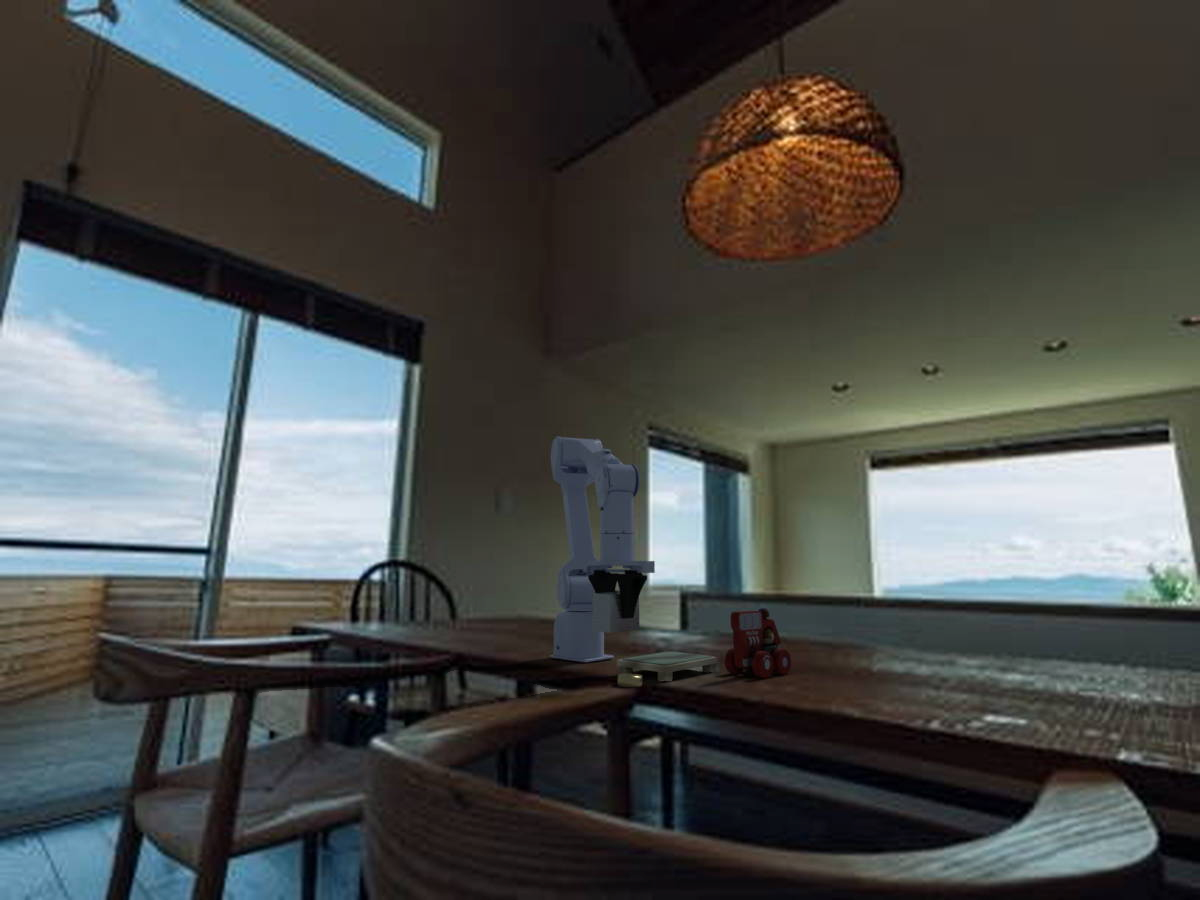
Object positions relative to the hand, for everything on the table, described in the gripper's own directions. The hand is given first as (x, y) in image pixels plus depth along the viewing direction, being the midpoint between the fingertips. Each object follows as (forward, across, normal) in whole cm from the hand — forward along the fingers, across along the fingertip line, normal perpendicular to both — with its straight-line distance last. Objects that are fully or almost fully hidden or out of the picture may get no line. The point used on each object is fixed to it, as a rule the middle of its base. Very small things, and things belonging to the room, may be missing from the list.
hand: (617, 617), depth 107 cm
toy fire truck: (+9, +16, +16) cm, 25 cm away
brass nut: (+9, +8, -6) cm, 13 cm away
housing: (+2, 0, 0) cm, 2 cm away
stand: (+9, +5, +6) cm, 12 cm away
